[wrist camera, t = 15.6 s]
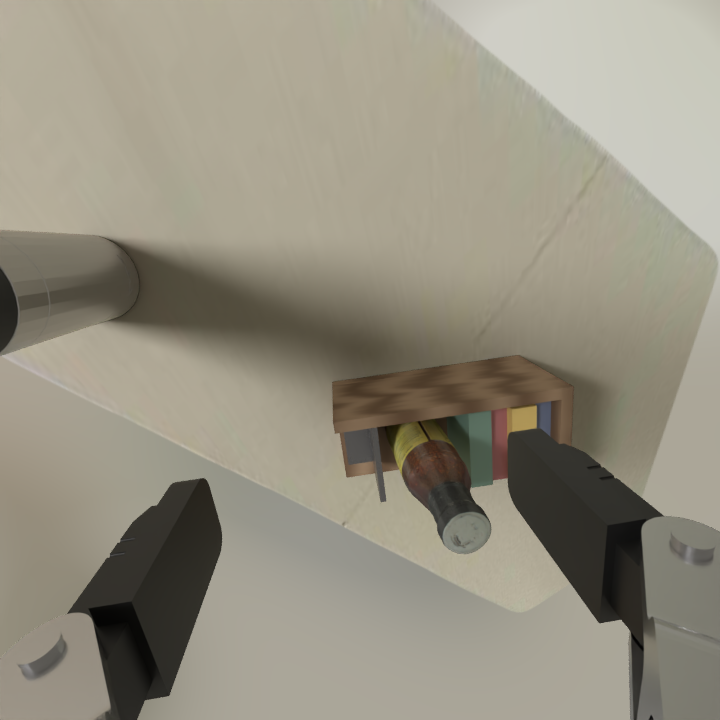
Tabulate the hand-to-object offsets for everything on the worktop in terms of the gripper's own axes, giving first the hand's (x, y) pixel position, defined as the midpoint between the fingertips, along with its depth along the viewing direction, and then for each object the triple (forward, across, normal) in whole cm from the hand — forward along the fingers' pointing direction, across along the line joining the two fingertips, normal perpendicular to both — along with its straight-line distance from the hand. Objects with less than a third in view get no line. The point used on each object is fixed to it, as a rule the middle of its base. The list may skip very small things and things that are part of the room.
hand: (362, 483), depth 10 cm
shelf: (+36, -10, +16) cm, 41 cm away
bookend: (+35, 0, +17) cm, 38 cm away
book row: (+35, -16, +17) cm, 42 cm away
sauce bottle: (+35, -7, +16) cm, 39 cm away
